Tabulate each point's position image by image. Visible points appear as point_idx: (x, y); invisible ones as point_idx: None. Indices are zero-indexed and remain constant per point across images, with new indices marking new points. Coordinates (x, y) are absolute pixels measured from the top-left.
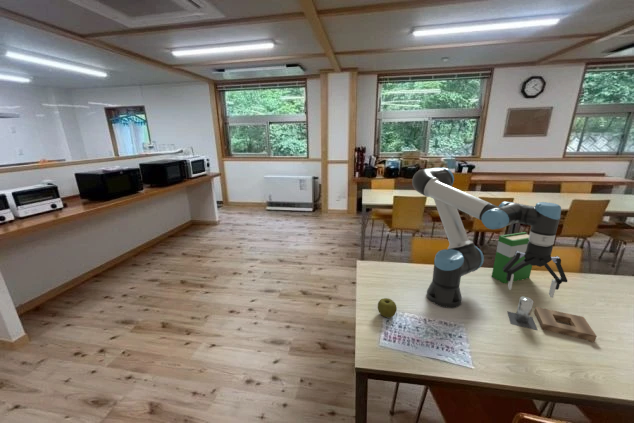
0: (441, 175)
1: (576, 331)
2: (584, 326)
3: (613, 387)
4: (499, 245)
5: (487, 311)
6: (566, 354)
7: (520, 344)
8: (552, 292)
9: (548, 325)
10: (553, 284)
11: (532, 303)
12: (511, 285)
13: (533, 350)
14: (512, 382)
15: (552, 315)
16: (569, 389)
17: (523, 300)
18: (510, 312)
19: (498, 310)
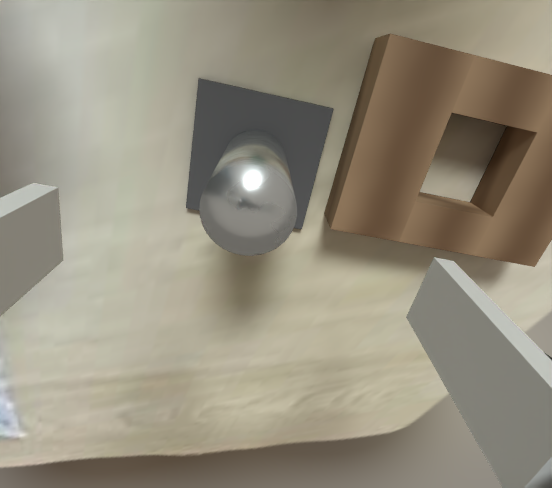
0: None
1: (463, 253)
2: (545, 203)
3: (386, 417)
4: None
5: (80, 102)
6: (339, 334)
7: (191, 322)
8: (434, 359)
9: (353, 232)
10: (490, 445)
11: (278, 243)
12: (21, 292)
13: (228, 340)
14: (125, 452)
15: (440, 131)
16: (263, 442)
17: (216, 232)
18: (216, 89)
19: (150, 70)
